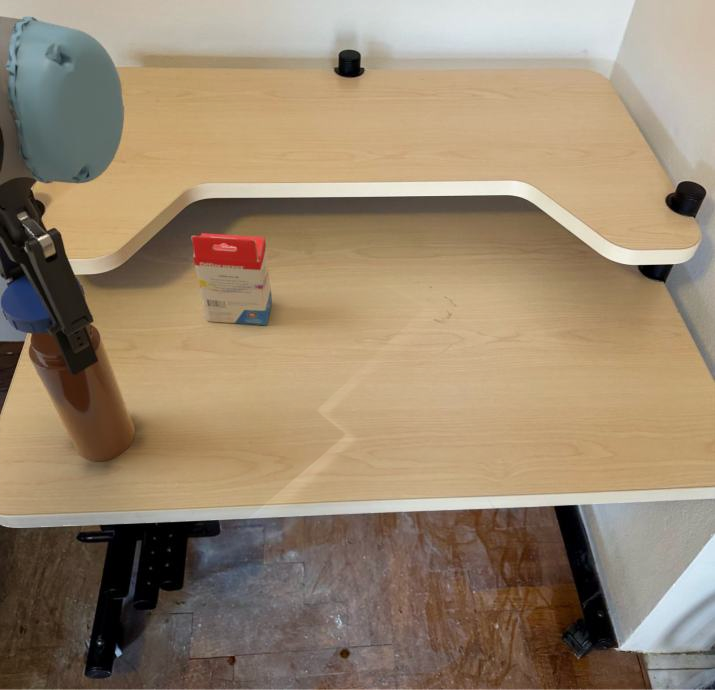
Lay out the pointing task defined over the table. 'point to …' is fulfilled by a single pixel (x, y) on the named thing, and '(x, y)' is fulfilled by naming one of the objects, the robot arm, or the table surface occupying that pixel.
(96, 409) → the jar
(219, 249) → the ink box
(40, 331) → the lid
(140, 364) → the table surface
